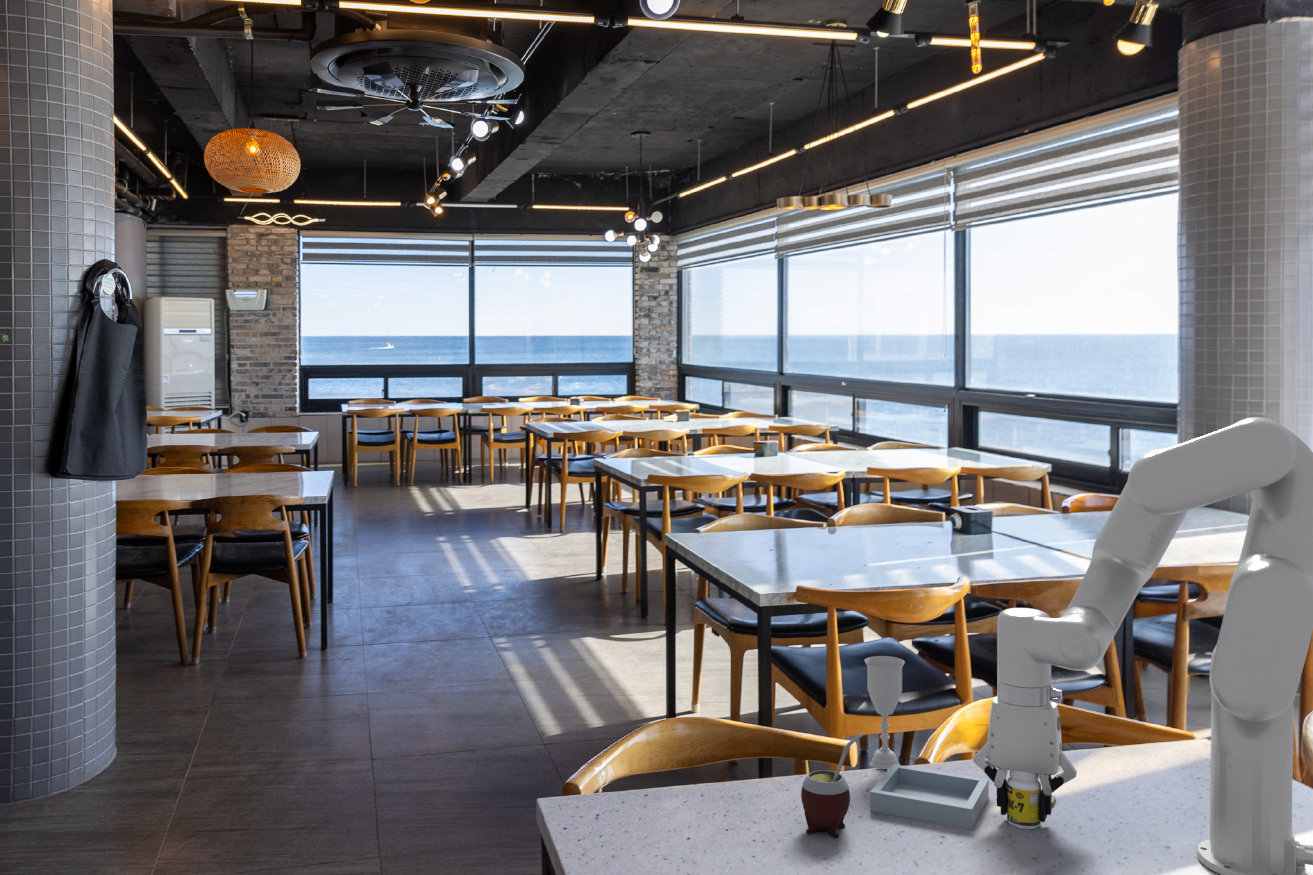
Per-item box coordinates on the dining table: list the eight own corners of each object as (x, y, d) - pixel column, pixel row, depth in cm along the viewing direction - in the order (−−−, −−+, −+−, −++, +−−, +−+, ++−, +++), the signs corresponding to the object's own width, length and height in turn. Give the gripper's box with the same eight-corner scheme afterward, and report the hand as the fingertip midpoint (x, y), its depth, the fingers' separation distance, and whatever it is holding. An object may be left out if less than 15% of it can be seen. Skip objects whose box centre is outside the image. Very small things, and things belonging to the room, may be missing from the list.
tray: (988, 797, 162) (988, 779, 162) (972, 829, 151) (972, 809, 150) (893, 782, 169) (893, 764, 169) (870, 810, 158) (870, 791, 158)
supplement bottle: (999, 820, 154) (1000, 764, 153) (1023, 814, 156) (1023, 759, 155) (1023, 832, 149) (1024, 775, 149) (1048, 826, 151) (1048, 769, 151)
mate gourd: (793, 824, 153) (792, 725, 153) (839, 816, 156) (838, 718, 155) (818, 844, 146) (817, 740, 146) (866, 835, 149) (865, 733, 148)
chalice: (906, 773, 173) (905, 667, 173) (864, 770, 175) (864, 665, 174) (904, 758, 180) (904, 656, 180) (864, 756, 182) (864, 655, 181)
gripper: (1088, 694, 151) (1088, 816, 152) (970, 680, 159) (970, 796, 160) (1083, 707, 144) (1083, 835, 145) (959, 692, 152) (960, 814, 153)
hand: (1023, 813), depth 152 cm, fingers closed on supplement bottle, 4 cm apart
